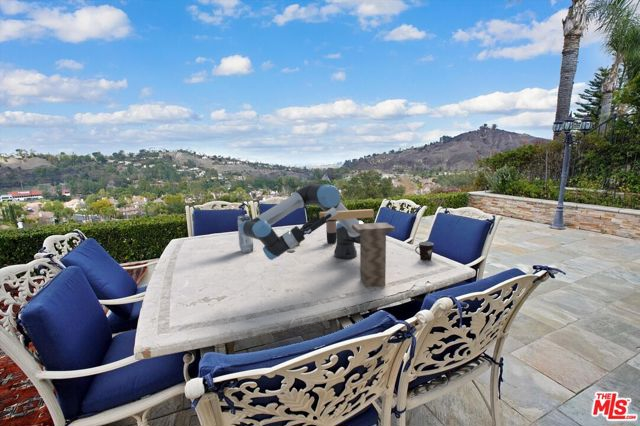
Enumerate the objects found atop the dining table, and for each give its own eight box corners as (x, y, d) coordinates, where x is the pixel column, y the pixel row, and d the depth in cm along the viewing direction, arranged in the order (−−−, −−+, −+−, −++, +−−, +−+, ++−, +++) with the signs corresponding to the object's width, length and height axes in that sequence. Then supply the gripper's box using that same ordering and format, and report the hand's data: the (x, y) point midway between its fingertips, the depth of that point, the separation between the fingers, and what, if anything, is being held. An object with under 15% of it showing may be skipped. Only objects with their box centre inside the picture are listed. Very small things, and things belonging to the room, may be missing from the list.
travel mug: (326, 241, 225) (325, 216, 221) (335, 240, 225) (335, 216, 222) (327, 244, 217) (326, 218, 214) (337, 243, 218) (336, 218, 214)
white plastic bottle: (241, 254, 199) (238, 216, 195) (239, 250, 209) (236, 213, 204) (254, 252, 203) (251, 214, 198) (251, 248, 212) (248, 212, 208)
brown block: (320, 220, 134) (320, 213, 133) (319, 219, 137) (319, 211, 136) (373, 217, 138) (373, 210, 137) (371, 216, 141) (371, 209, 140)
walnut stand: (358, 289, 140) (358, 229, 135) (352, 279, 152) (352, 224, 146) (393, 285, 142) (394, 227, 137) (384, 276, 154) (385, 222, 149)
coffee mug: (430, 256, 183) (431, 241, 181) (434, 261, 175) (435, 245, 173) (412, 256, 184) (412, 241, 183) (415, 261, 176) (415, 245, 174)
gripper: (297, 238, 144) (336, 213, 144) (299, 247, 128) (343, 219, 129) (289, 226, 142) (328, 201, 143) (290, 234, 126) (335, 206, 127)
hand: (335, 210), depth 136 cm, fingers closed on brown block, 3 cm apart
